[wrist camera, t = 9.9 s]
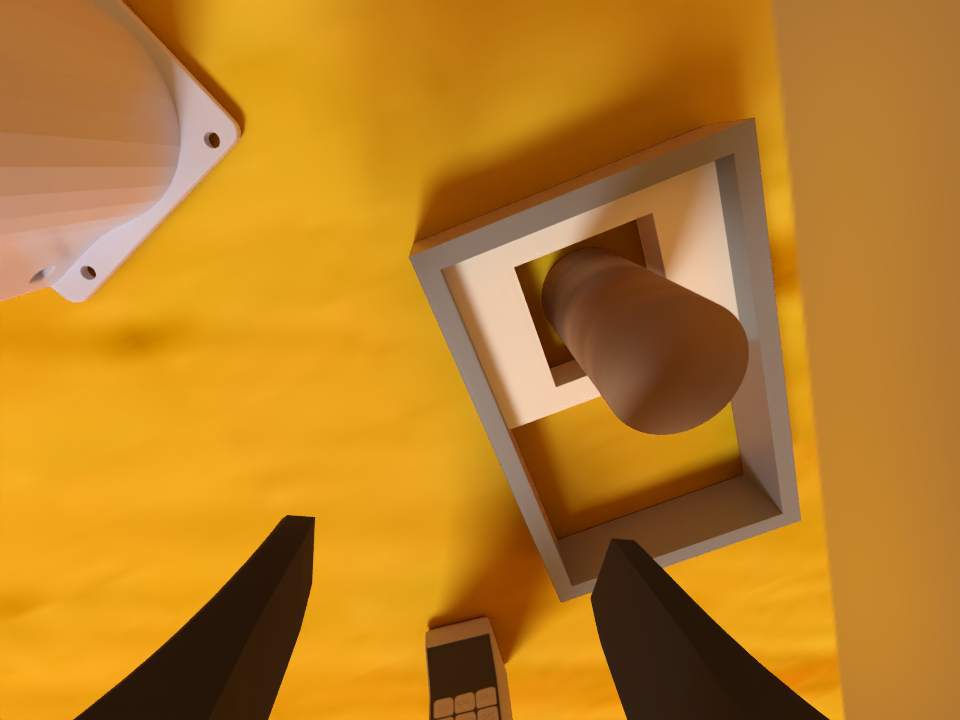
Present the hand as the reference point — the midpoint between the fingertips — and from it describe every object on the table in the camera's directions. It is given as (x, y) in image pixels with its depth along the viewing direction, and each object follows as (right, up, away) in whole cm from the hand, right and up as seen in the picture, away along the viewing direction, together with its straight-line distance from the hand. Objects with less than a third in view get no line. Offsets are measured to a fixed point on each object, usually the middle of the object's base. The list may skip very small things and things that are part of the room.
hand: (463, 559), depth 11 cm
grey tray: (+7, +4, +10) cm, 13 cm away
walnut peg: (+5, +8, +9) cm, 13 cm away
